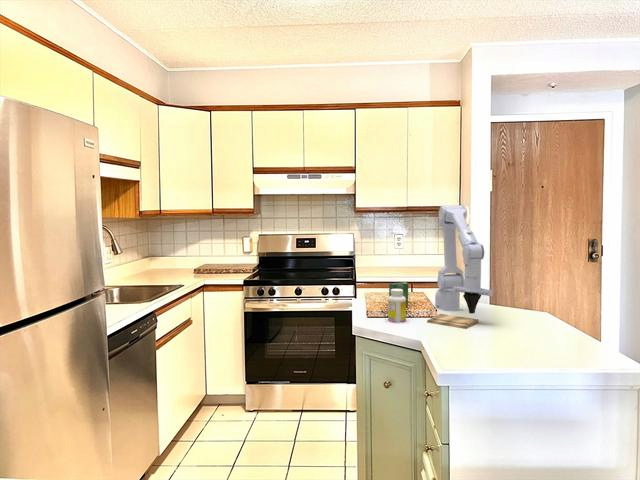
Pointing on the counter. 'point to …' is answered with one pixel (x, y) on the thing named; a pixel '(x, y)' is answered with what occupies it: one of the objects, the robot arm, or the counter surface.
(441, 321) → the strip
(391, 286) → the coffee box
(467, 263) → the robot arm
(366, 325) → the counter surface
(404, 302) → the supplement bottle
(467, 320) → the plank
